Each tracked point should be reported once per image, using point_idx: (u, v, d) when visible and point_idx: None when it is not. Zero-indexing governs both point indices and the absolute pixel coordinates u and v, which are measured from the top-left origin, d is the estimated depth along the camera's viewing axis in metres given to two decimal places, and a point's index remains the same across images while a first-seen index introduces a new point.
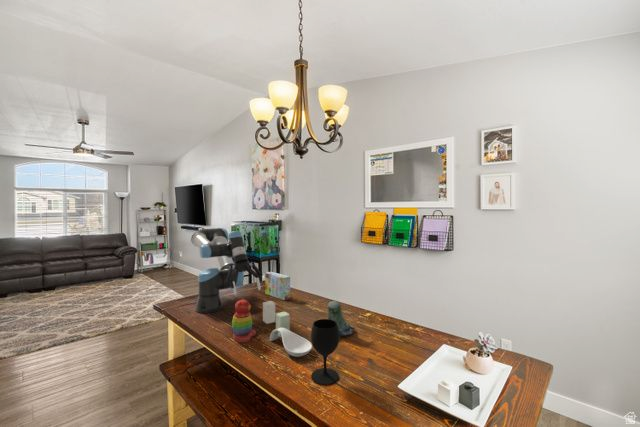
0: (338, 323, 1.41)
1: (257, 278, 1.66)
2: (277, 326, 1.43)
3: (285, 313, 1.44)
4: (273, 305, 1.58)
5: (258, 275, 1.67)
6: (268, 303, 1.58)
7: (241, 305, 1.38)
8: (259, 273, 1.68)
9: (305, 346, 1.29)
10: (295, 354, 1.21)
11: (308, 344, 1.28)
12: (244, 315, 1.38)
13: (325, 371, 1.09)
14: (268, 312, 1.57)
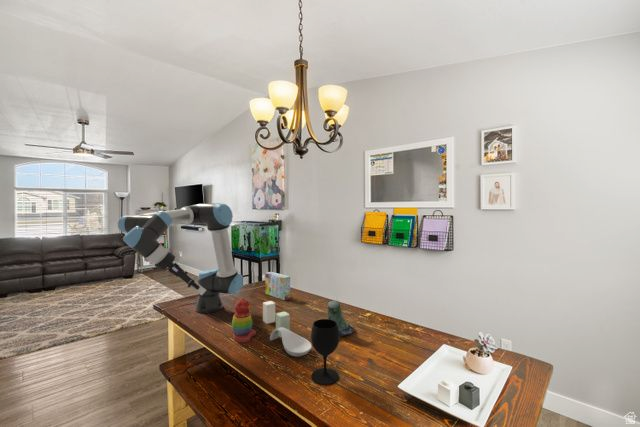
0: (338, 323, 1.41)
1: (190, 286, 1.21)
2: (277, 326, 1.43)
3: (285, 313, 1.44)
4: (273, 305, 1.58)
5: (188, 284, 1.19)
6: (268, 303, 1.58)
7: (241, 305, 1.38)
8: None
9: (305, 346, 1.29)
10: (294, 354, 1.21)
11: (308, 344, 1.29)
12: (244, 315, 1.38)
13: (325, 371, 1.09)
14: (268, 312, 1.57)
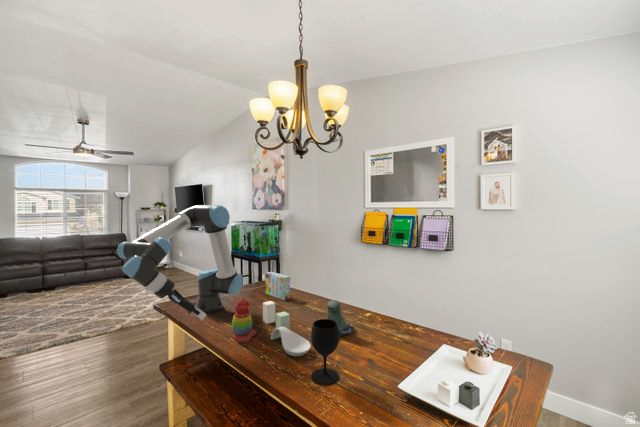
0: (337, 322, 1.42)
1: (191, 312, 1.27)
2: (277, 326, 1.43)
3: (285, 313, 1.44)
4: (273, 305, 1.58)
5: None
6: (268, 303, 1.58)
7: (241, 305, 1.38)
8: (187, 309, 1.24)
9: (304, 346, 1.29)
10: (293, 354, 1.21)
11: (307, 344, 1.28)
12: (244, 315, 1.38)
13: (325, 371, 1.09)
14: (268, 312, 1.57)
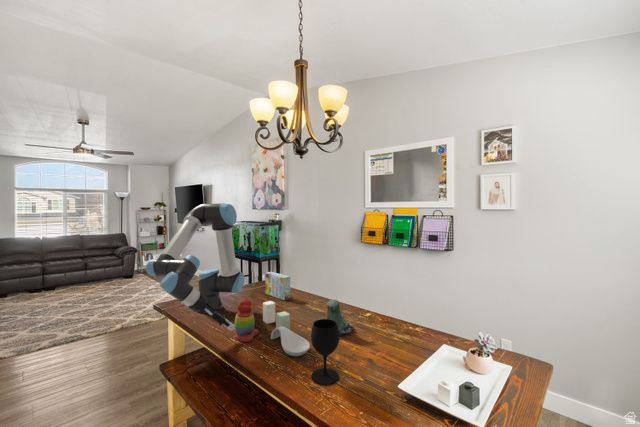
0: (336, 322, 1.42)
1: (221, 323, 1.35)
2: (277, 326, 1.43)
3: (285, 313, 1.45)
4: (273, 305, 1.58)
5: None
6: (268, 303, 1.58)
7: (244, 304, 1.38)
8: (218, 321, 1.31)
9: (303, 346, 1.29)
10: (291, 353, 1.21)
11: (306, 344, 1.28)
12: (247, 314, 1.38)
13: (325, 371, 1.09)
14: (268, 312, 1.57)
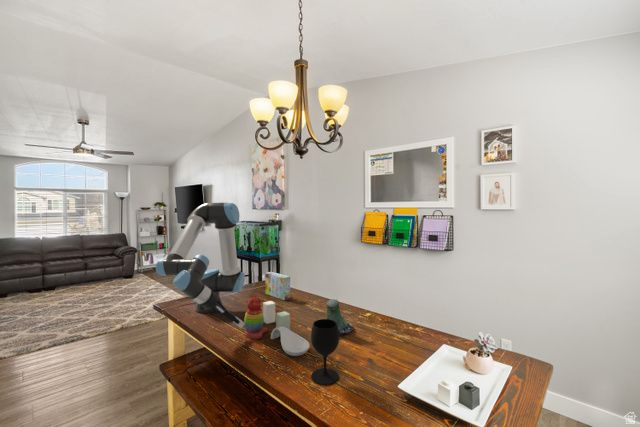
0: (336, 321, 1.43)
1: None
2: (277, 326, 1.43)
3: (285, 313, 1.45)
4: (273, 305, 1.58)
5: (230, 320, 1.36)
6: (268, 303, 1.58)
7: (253, 302, 1.41)
8: (229, 319, 1.34)
9: (303, 346, 1.29)
10: (291, 353, 1.21)
11: (306, 344, 1.29)
12: (256, 312, 1.41)
13: (325, 371, 1.09)
14: (268, 312, 1.57)
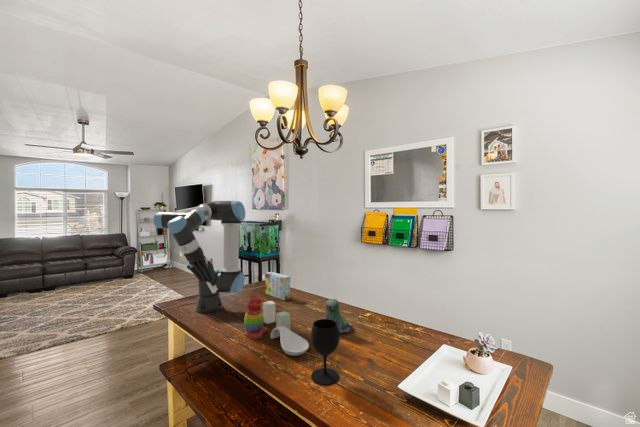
0: (335, 321, 1.43)
1: (208, 283, 1.37)
2: (278, 326, 1.43)
3: (285, 313, 1.45)
4: (273, 305, 1.58)
5: (209, 279, 1.36)
6: (268, 303, 1.58)
7: (253, 302, 1.41)
8: (210, 276, 1.35)
9: (303, 346, 1.29)
10: (290, 353, 1.22)
11: (305, 344, 1.29)
12: (256, 312, 1.41)
13: (325, 371, 1.09)
14: (268, 312, 1.57)
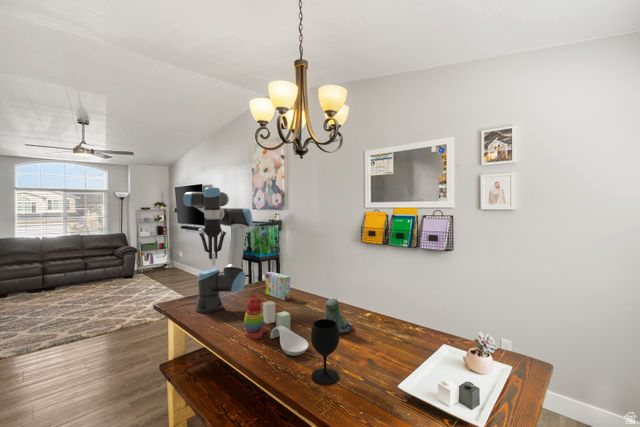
0: (335, 320, 1.44)
1: (213, 254, 1.47)
2: (278, 326, 1.43)
3: (285, 313, 1.45)
4: (273, 305, 1.58)
5: (216, 250, 1.48)
6: (268, 303, 1.58)
7: (253, 302, 1.41)
8: (219, 246, 1.49)
9: (302, 345, 1.29)
10: (290, 353, 1.22)
11: (305, 344, 1.29)
12: (256, 312, 1.41)
13: (325, 371, 1.09)
14: (268, 312, 1.57)
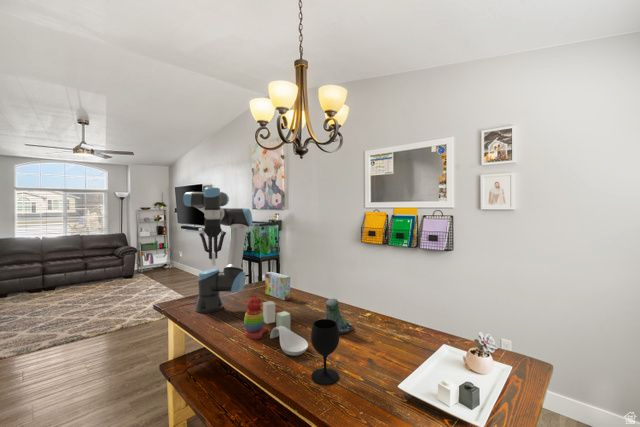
0: (335, 320, 1.44)
1: (213, 254, 1.47)
2: (278, 326, 1.43)
3: (285, 313, 1.45)
4: (273, 305, 1.58)
5: (216, 250, 1.48)
6: (268, 303, 1.58)
7: (253, 302, 1.41)
8: (219, 246, 1.49)
9: (302, 345, 1.29)
10: (289, 353, 1.22)
11: (305, 344, 1.29)
12: (256, 312, 1.41)
13: (325, 371, 1.09)
14: (268, 312, 1.57)
